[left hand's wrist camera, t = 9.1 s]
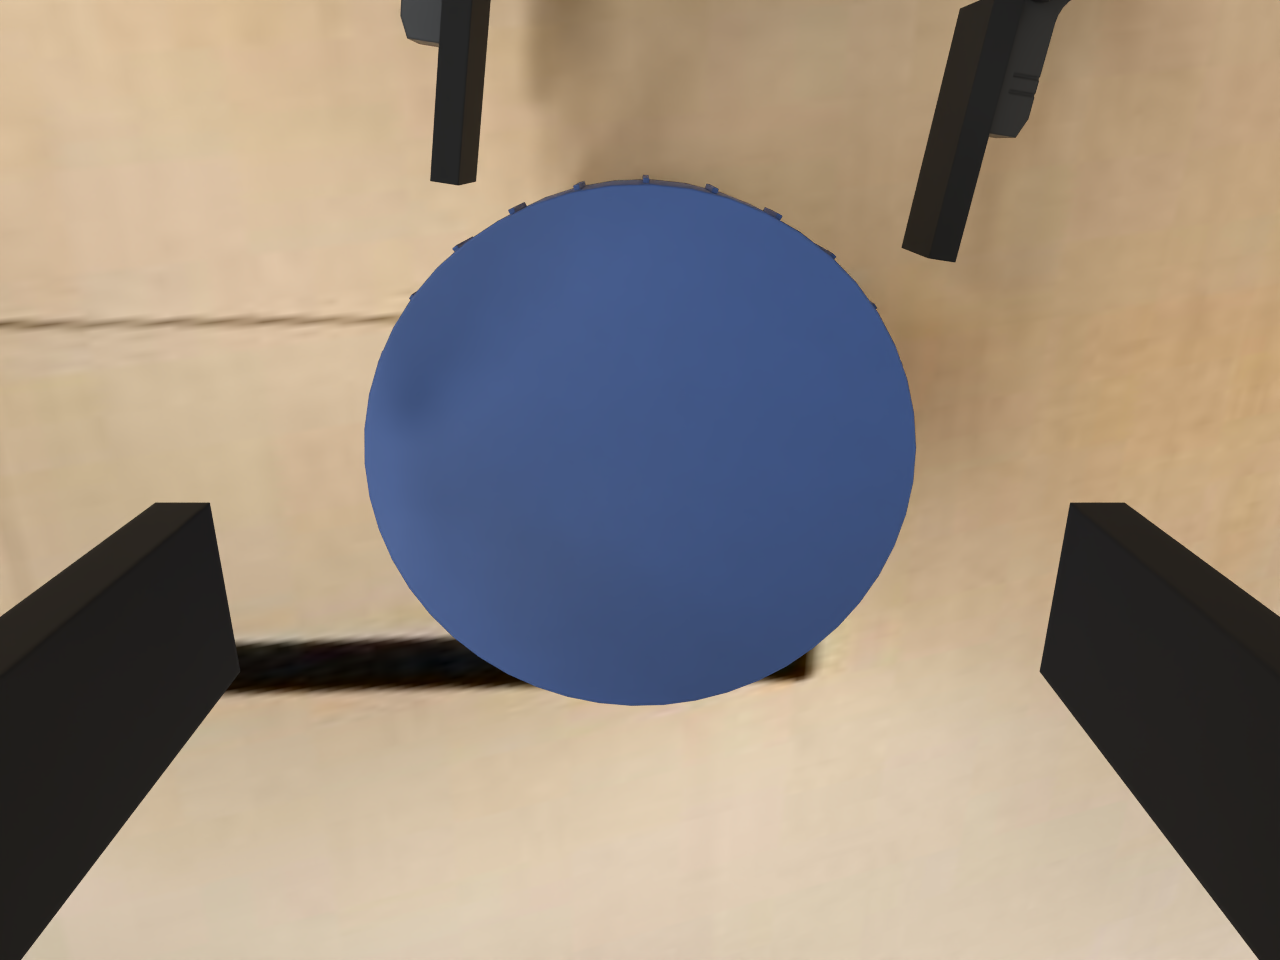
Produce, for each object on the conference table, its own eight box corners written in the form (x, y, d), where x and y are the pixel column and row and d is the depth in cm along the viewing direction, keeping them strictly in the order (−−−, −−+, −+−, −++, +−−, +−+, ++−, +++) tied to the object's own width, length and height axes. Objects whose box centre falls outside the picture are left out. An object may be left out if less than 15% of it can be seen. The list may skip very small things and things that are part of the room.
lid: (706, 55, 17) (716, 42, 15) (977, 489, 20) (1019, 532, 18) (288, 379, 19) (242, 409, 17) (589, 725, 22) (584, 790, 20)
